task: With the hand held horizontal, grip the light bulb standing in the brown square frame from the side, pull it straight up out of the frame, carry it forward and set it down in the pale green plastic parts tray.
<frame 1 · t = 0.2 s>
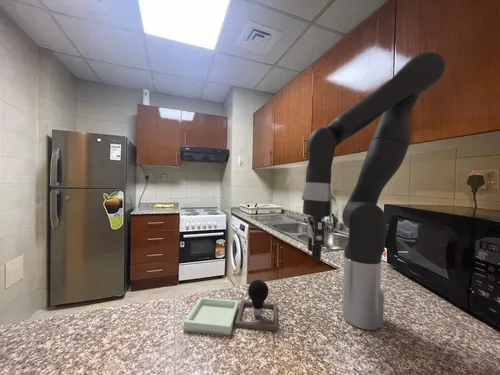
hand: (313, 254, 60), 18 cm above the countertop, tool pointing down, fingers open, 8 cm apart
light bulb: (257, 316, 59), resting in brown square frame
brown square frame: (257, 315, 59), on the countertop
parts tray: (213, 318, 57), on the countertop
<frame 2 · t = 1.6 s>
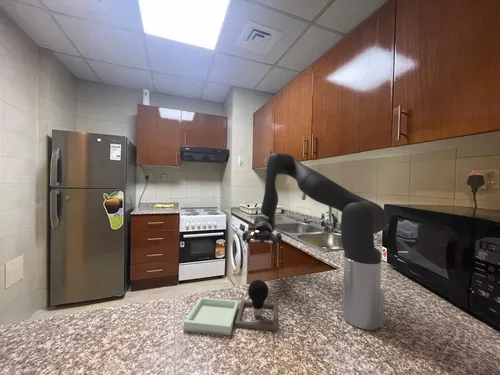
hand: (261, 242, 70), 18 cm above the countertop, tool horizontal, fingers open, 8 cm apart
nothing on the countertop moved.
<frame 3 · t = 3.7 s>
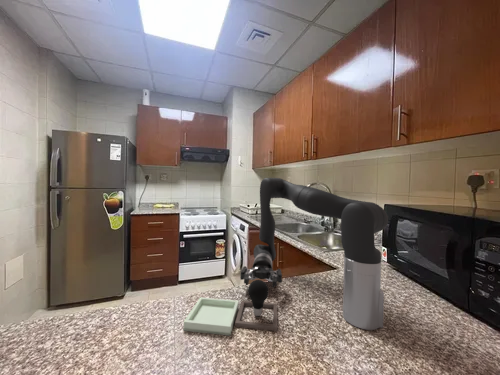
hand: (259, 283, 66), 6 cm above the countertop, tool horizontal, fingers open, 8 cm apart
nothing on the countertop moved.
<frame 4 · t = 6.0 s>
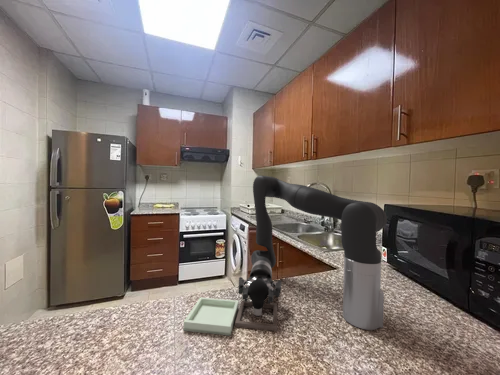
hand: (257, 299, 57), 6 cm above the countertop, tool horizontal, fingers closed on light bulb, 6 cm apart
light bulb: (257, 316, 59), resting in brown square frame, touching gripper
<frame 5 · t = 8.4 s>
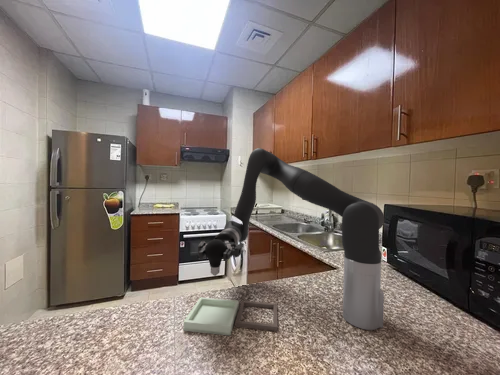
hand: (212, 256, 55), 18 cm above the countertop, tool horizontal, fingers closed on light bulb, 6 cm apart
light bulb: (215, 276, 58), point 11 cm above the countertop, touching gripper
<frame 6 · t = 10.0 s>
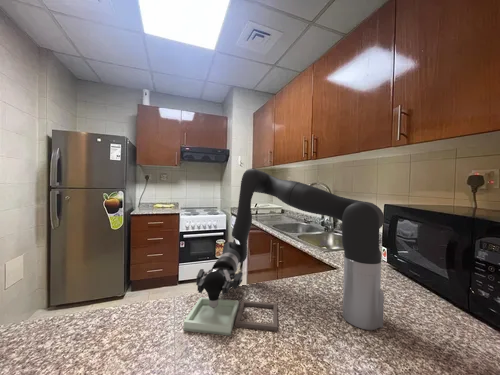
hand: (211, 290, 55), 9 cm above the countertop, tool horizontal, fingers closed on light bulb, 6 cm apart
light bulb: (213, 308, 58), point 3 cm above the countertop, touching gripper
when the fingers open (8 cm above the countertop, at t = 10.8 s): light bulb moves 1 cm, resting on parts tray.
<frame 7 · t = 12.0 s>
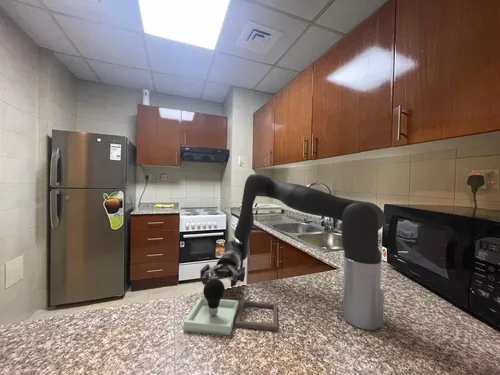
hand: (217, 282, 61), 8 cm above the countertop, tool horizontal, fingers open, 8 cm apart
light bulb: (213, 316, 58), resting on parts tray
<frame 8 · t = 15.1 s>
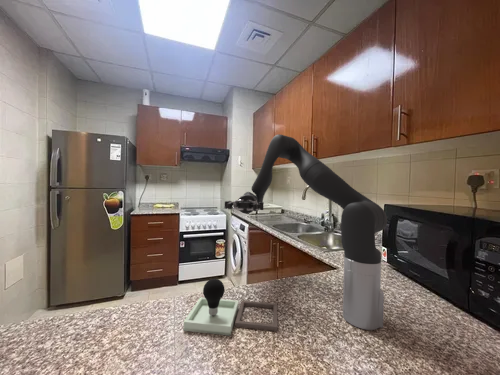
hand: (241, 206, 70), 30 cm above the countertop, tool horizontal, fingers open, 8 cm apart
nothing on the countertop moved.
at the end: light bulb inside the target area on the parts tray (0.3 cm from its centre), point 0.4 cm above the parts tray's base; the gripper is holding nothing; light bulb moved 12.5 cm from its start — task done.
